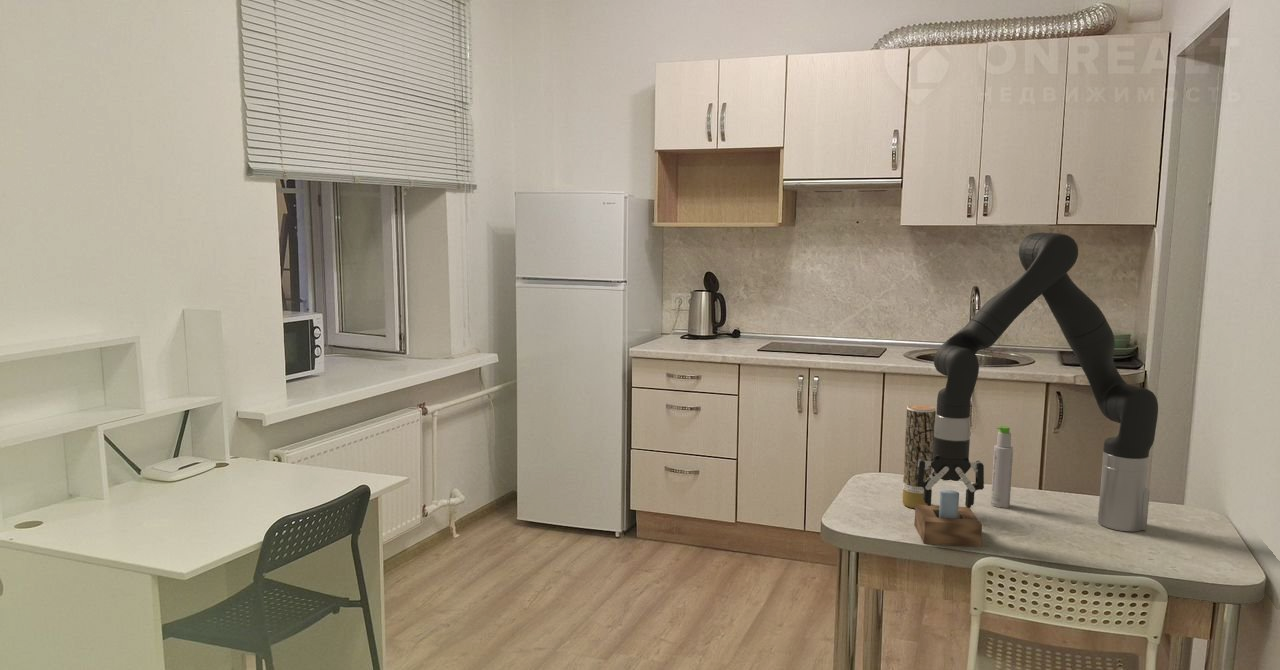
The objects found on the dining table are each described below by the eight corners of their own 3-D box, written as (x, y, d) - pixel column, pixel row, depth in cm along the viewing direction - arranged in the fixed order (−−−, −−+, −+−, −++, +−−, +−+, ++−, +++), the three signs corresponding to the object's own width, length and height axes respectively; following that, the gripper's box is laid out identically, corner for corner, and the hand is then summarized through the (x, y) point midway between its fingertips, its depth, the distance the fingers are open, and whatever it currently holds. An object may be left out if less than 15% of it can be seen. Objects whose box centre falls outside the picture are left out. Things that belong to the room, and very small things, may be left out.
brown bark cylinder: (934, 510, 211) (939, 410, 208) (906, 509, 211) (911, 410, 208) (925, 501, 218) (930, 404, 215) (898, 501, 218) (903, 404, 215)
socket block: (967, 528, 198) (969, 507, 198) (980, 546, 187) (982, 524, 186) (914, 525, 200) (915, 504, 200) (923, 543, 188) (924, 521, 188)
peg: (954, 533, 195) (957, 490, 194) (958, 539, 191) (961, 495, 190) (936, 532, 196) (938, 489, 194) (940, 538, 192) (942, 494, 190)
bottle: (989, 501, 218) (993, 424, 216) (1007, 503, 217) (1012, 425, 215) (992, 507, 214) (997, 428, 211) (1011, 508, 213) (1016, 429, 210)
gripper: (981, 432, 193) (977, 502, 195) (915, 430, 195) (912, 499, 197) (989, 440, 186) (985, 513, 188) (921, 437, 188) (918, 509, 190)
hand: (948, 505), depth 193 cm, fingers open, 8 cm apart
